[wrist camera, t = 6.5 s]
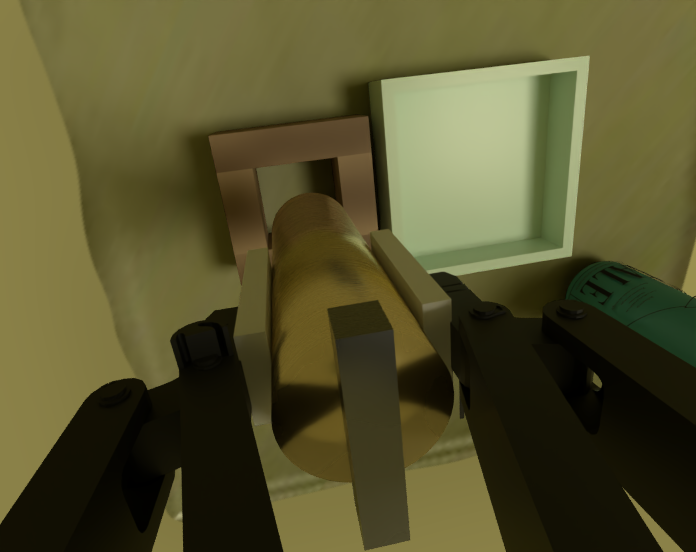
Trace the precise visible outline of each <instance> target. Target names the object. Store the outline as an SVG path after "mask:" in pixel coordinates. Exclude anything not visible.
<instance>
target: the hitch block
mask: <svg viewBox="0 0 696 552" xmlns="http://www.w3.org/2000/svg"><path fill="white" fill-rule="evenodd" d="M208 137H209V142H210V146H211V151H212V155H213V160H214V164H215V169H216V173H217V178H218V182H219V187H220V191H221V196H222V200H223V205H224V210H225V214H226V219H227V223H228V228H229V232H230V237H231V241H232V246H233V250H234V255H235V259H236V264H237V268H238V273H239V277H240V282H241V285H242V281H243V275H244V269H245V263H246V257H247V251H248V250H253V249H260V248H266V247H268V251H269V257H270V262H271V267H272V233H270V234H268V230H267V224H266V219H265V214H264V208H263V203H262V198H261V192H260V187H259V181H258V176H257V171H256V168H259V167H267V166H274V165H282V164H289V163H297V162H304V161H312V160H319V159H326V158H331V162H332V171H333V179H334V187H335V195H336V201H337V202H338V203H339V204H340V205H341V206H342V207H343V208H344V210H345V211H346V213H347V214H348V216H349V217H350V219H351V220H352V222H353V223H354V225H355V226H356V228H357V230H358V231H359V233H360V234H361V236H362V237H363V239H364V240H365V242H366V243H367V245H368V246H369V248H370V250H371V241H370V232H371V231H378V222H377V211H376V199H375V188H374V176H373V165H372V153H371V142H370V130H369V118H368V116H364V115H349V116H341V117H333V118H325V119H317V120H309V121H301V122H293V123H285V124H277V125H268V126H260V127H252V128H244V129H236V130H228V131H220V132H215V133H213V134H211V135H209V136H208Z"/></svg>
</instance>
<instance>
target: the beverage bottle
mask: <svg viewBox="0 0 696 552" xmlns="http://www.w3.org/2000/svg"><path fill="white" fill-rule="evenodd" d="M617 262H618V261H617ZM622 264H623V263H621V264H620V263H616V262H610V261H603V262H597V263H594V264H591V265H589V266H587V267H586V268H584V269H583V270H582V271H580V272H579V273H578V274H577V275H576V276H575V278H574V279H573V280H572V282H571V283H570V285H569V287H568V290H567V293H566V299H569V300H570V299H571V300H577V301H580V302H584V303H587V304H589V305H592V306H594V307H596V308H597V309H599V310H601V311H602V312H604V313H606V314H607V315H609V316H611V317H612V318H614V319H616V320H617V321H619V322H621V323H622V324H624V325H626V326H627V327H629V328H631V329H632V330H634V331H636V332H637V333H639V334H641V335H642V336H644V337H646V338H647V339H649V340H650V341H652V342H654V343H655V344H657V345H659V346H660V347H662V348H664V349H665V350H667V351H669V352H670V353H672V354H674V355H675V356H677V357H679V358H680V359H682V360H684V361H685V362H687V363H689V364H690V365H692V366H694V367H695V368H696V298H694V297H696V296H694V297H691V296H689V295H687V294H686V293H683V292H682V291H678V290H676V289H674V288H673V287H670V286H671V285H670V286H668V285H665V284H663V283H661V282H659V281H657V280H655V279H652V278H655V277H653V276H651V275H649V274H647V273H645V274H647V275H649V276H651V277H652V278H651V277H649V276H646V275H644V274H641V273H639V272H637V271H636V270H637V269H636V270H633V269H635V268H633V267H630V266H628V265H625V266H624V265H622ZM626 266H628V267H630V268H628V267H626ZM631 268H633V269H631ZM638 271H640V270H638ZM641 272H642V271H641ZM643 273H644V272H643ZM656 279H657V278H656ZM658 280H659V279H658ZM660 281H662V280H660ZM662 282H663V281H662ZM664 283H665V282H664ZM672 286H673V285H672ZM678 289H679V288H678ZM679 290H680V289H679Z"/></svg>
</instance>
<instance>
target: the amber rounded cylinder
mask: <svg viewBox="0 0 696 552" xmlns="http://www.w3.org/2000/svg"><path fill="white" fill-rule="evenodd" d="M453 403H454V389H453V382H452V379H451V375H450V373H449V371H448V368H447V366H446V365H445V363H444V362H443V360H442V358H441V357H440V355H439V354H438V352H437V351H436V349H435V348H434V346H433V345H432V343H431V342H430V340H429V339H428V337H427V335H426V334H425V332H424V331H423V329H422V328H421V326H420V325H419V323H418V322H417V320H416V319H415V317H414V316H413V314H412V312H411V311H410V309H409V308H408V306H407V305H406V303H405V302H404V300H403V299H402V297H401V296H400V294H399V292H398V291H397V289H396V288H395V286H394V285H393V283H392V282H391V280H390V279H389V277H388V276H387V274H386V273H385V271H384V269H383V268H382V266H381V265H380V263H379V262H378V260H377V259H376V257H375V256H374V254H373V253H372V251H371V250H370V248H369V246H368V245H367V243H366V242H365V240H364V239H363V237H362V236H361V234H360V233H359V231H358V230H357V228H356V226H355V225H354V223H353V222H352V220H351V219H350V217H349V216H348V214H347V213H346V211H345V210H344V208H343V207H342V206H341V205H340V204H339V203H338V202H337V201H336V200H334V199H333V198H331V197H329V196H327V195H324V194H319V193H305V194H300V195H298V196H295V197H293V198H291V199H290V200H288V201H287V202H286V203H285V204H284V205H283V206H282V207H281V208H280V209H279V211H278V212H277V214H276V216H275V218H274V222H273V226H272V366H271V422H272V430H273V433H274V436H275V439H276V441H277V443H278V445H279V447H280V449H281V450H282V452H283V453H284V454H285V456H286V457H287V458H288V459H289V460H290V461H291V462H292V463H293V464H295V465H296V466H297V467H299V468H300V469H302V470H303V471H305V472H307V473H309V474H311V475H314V476H316V477H319V478H322V479H326V480H330V481H336V482H352V486H353V493H354V500H355V506H356V511H357V515H358V521H359V525H360V530H361V535H362V540H363V545H364V550H369V549H374V548H378V547H382V546H387V545H391V544H395V543H399V542H404V541H408V540H410V531H409V520H408V506H407V495H406V482H405V469H404V468H406V467H408V466H409V465H411V464H413V463H414V462H416V461H417V460H418V459H420V458H421V457H422V456H423V455H424V454H426V453H427V452H428V451H429V450H430V449H431V448H432V447H433V445H434V444H435V443H436V442H437V441H438V439H439V438H440V436H441V435H442V433H443V432H444V430H445V428H446V426H447V424H448V422H449V419H450V416H451V413H452V409H453Z"/></svg>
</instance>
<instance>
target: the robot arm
mask: <svg viewBox="0 0 696 552" xmlns="http://www.w3.org/2000/svg"><path fill="white" fill-rule="evenodd" d="M370 241H371V251H372V253H373V254H374V256H375V257H376V259H377V260H378V262H379V263H380V265H381V266H382V268H383V269H384V271H385V273H386V274H387V276H388V277H389V279H390V280H391V282H392V283H393V285H394V286H395V288H396V289H397V291H398V292H399V294H400V296H401V297H402V299H403V300H404V302H405V303H406V305H407V306H408V308H409V309H410V311H411V312H412V314H413V316H414V317H415V319H416V320H417V322H418V323H419V325H420V326H421V328H422V329H423V331H424V332H425V334H426V335H427V337H428V339H429V340H430V342H431V343H432V345H433V346H434V348H435V349H436V351H437V352H438V354H439V355H440V357H441V358H442V360H443V362H444V363H445V365H446V366H447V368H448V371H449V373H450V375H451V379H452V382H453V371H454V373H455V374H456V376H457V377H458V379H459V388H460V418H464V412H465V416H466V419H467V422H468V426H469V429H470V432H471V436H472V439H473V442H474V446H475V449H476V452H477V456H478V459H479V463H480V466H481V469H482V473H483V476H484V479H485V483H486V486H487V489H488V493H489V496H490V499H491V503H492V506H493V509H494V513H495V516H496V520H497V523H498V526H499V530H500V533H501V536H502V540H503V543H504V546H505V549H506V552H663V550H662V549H661V547H660V546H659V544H658V543H657V541H656V540H655V538H654V536H653V535H652V533H651V532H650V530H649V529H648V527H647V526H646V524H645V522H644V521H643V519H642V518H641V516H640V514H639V513H638V511H637V510H636V508H635V506H634V505H633V503H632V502H631V500H630V499H629V497H628V495H627V494H626V492H625V491H624V489H625V490H626V491H627V492H628V493H629V495H630V496H632V498H633V499H634V500H635V501H636V502H637V503H638V504H639V505H640V506H641V507H642V508H643V509H644V510H645V511H646V512H647V513H648V514H649V515H650V516H651V518H653V520H654V521H655V522H656V523H657V524H658V525H659V526H660V527H661V528H662V529H663V530H664V531H665V532H666V533H667V534H668V535H669V536H670V537H671V538H672V540H674V542H675V543H676V544H677V545H678V546H679V547H680V548H681V549H682V550H683V551H684V552H696V368H695V367H694V366H692V365H690V364H689V363H687V362H685V361H684V360H682V359H680V358H679V357H677V356H675V355H674V354H672V353H670V352H669V351H667V350H665V349H664V348H662V347H660V346H659V345H657V344H655V343H654V342H652V341H650V340H649V339H647V338H646V337H644V336H642V335H641V334H639V333H637V332H636V331H634V330H632V329H631V328H629V327H627V326H626V325H624V324H622V323H621V322H619V321H617V320H616V319H614V318H612V317H611V316H609V315H607V314H606V313H604V312H602V311H601V310H599V309H597V308H596V307H594V306H592V305H589V304H587V303H584V302H580V301H577V300H571V299H570V300H569V299H563V300H557V301H553V302H550V303H547V304H546V305H545V306H544V307H543V315H542V318H514V316H513V315H512V313H511V312H510V310H508V309H507V308H506V307H505V306H503V305H500V304H498V303H493V302H484V301H481V300H480V299H479V298H478V297H477V296H476V295H475V294H474V293H473V292H472V291H471V290H470V289H468V287H467V286H466V285H465V284H463V283H462V282H461V281H460V280H459V279H458V278H457V277H456V276H454V275H452V274H449V273H447V272H437V273H431V274H428V272H427V271H426V270H425V269H424V268H423V267H422V266H421V265H420V263H419V262H418V261H417V260H416V259H415V258H414V257H413V256H412V254H411V253H410V252H409V251H408V250H407V249H406V248H405V247H404V246H403V244H402V243H401V242H400V241H399V240H398V239H397V238H396V237H395V235H394V234H393V233H392V232H391V231H390V230H389V229H384V230H378V231H371V232H370ZM170 342H171V345H172V348H173V352H174V355H175V358H176V361H177V365H178V368H179V377H178V378H176V379H175V380H173V381H171V382H168V383H166V384H164V385H161V386H158V387H155V388H153V389H150V390H147V388H146V385H145V384H144V382H143V381H142V380H139V379H136V378H128V379H121V380H116V381H112V382H110V383H109V384H108V383H107V384H105V385H103V386H101V387H100V388H99V389H97V390H96V391H94V392H93V393H91V394H90V395H89V397H88V398H87V399H86V400H85V401H84V402H83V404H82V405H81V407H80V408H79V410H78V411H77V413H76V414H75V416H74V417H73V418H72V420H71V421H70V423H69V424H68V426H67V427H66V429H65V430H64V432H63V433H62V434H61V436H60V437H59V439H58V440H57V442H56V443H55V445H54V446H53V448H52V449H51V451H50V452H49V454H48V455H47V457H46V458H45V459H44V461H43V462H42V464H41V465H40V467H39V468H38V470H37V471H36V473H35V474H34V476H33V477H32V479H31V480H30V481H29V483H28V485H27V486H26V487H25V489H24V490H23V492H22V493H21V495H20V496H19V498H18V499H17V501H16V502H15V504H14V505H13V506H12V508H11V509H10V511H9V512H8V514H7V515H6V517H5V518H4V520H3V521H2V523H1V524H0V552H152V548H153V545H154V542H155V539H156V536H157V532H158V529H159V526H160V522H161V519H162V516H163V513H164V510H165V506H166V503H167V500H168V497H169V493H170V490H171V487H172V484H173V481H174V477H175V470H176V469H178V468H180V467H181V471H182V514H183V552H283V549H282V544H281V541H280V536H279V533H278V529H277V524H276V520H275V516H274V512H273V508H272V504H271V500H270V496H269V492H268V488H267V484H266V480H265V476H264V472H263V468H262V464H261V460H260V456H259V452H258V448H257V444H256V440H255V436H254V432H253V428H252V424H251V413H252V416H253V420H254V424H255V426H258V425H263V424H268V423H272V422H271V366H272V267H271V262H270V257H269V251H268V247H266V248H260V249H253V250H248V251H247V257H246V263H245V269H244V275H243V281H242V287H241V293H240V299H239V305H238V307H233V308H227V309H221V310H215V311H214V312H213V313H212V314H211V315H210V316H209V317H207V318H206V320H203V321H198V322H195V323H192V324H189V325H186V326H184V327H183V328H181V329H179V330H178V331H177V332H175V333H174V334H173V335H172V337H171V340H170ZM594 372H595V373H596V375H597V376H598V377H599V378H600V380H601V382H602V387H601V388H599V387H598V386H597V385H596V384H594V383H593V382H592V381H593V374H594ZM622 487H623V488H624V489H623V488H622Z"/></svg>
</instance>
